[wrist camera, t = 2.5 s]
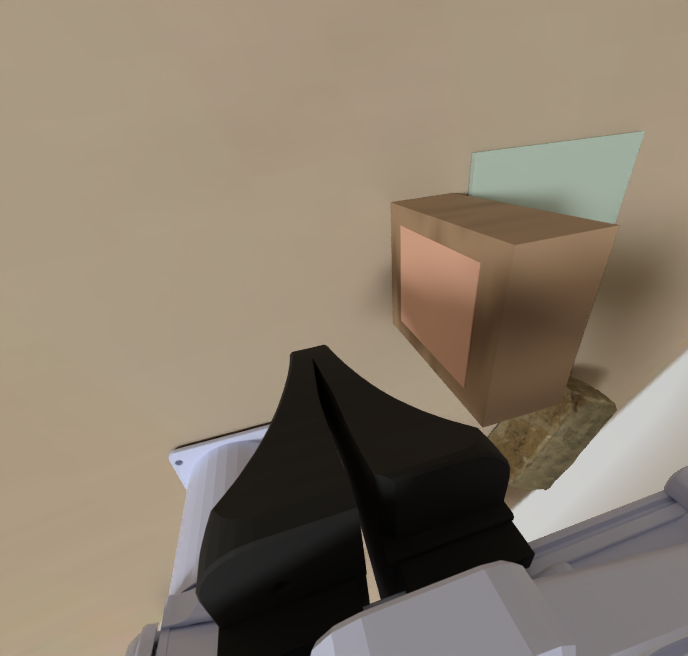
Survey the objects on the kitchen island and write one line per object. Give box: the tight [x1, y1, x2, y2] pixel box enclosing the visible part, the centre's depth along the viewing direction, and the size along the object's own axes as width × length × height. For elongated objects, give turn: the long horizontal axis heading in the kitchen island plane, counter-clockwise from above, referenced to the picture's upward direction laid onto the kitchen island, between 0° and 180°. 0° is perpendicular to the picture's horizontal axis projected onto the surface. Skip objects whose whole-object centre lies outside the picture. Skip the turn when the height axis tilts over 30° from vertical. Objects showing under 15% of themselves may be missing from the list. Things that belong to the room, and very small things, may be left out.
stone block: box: [488, 377, 617, 490], centre depth 30 cm, size 6×12×5 cm, turn 159°
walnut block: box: [391, 193, 620, 427], centre depth 16 cm, size 8×4×10 cm, turn 6°
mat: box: [468, 131, 645, 224], centre depth 22 cm, size 12×12×1 cm
